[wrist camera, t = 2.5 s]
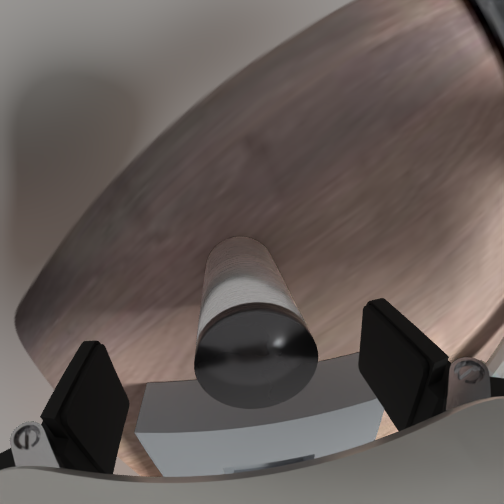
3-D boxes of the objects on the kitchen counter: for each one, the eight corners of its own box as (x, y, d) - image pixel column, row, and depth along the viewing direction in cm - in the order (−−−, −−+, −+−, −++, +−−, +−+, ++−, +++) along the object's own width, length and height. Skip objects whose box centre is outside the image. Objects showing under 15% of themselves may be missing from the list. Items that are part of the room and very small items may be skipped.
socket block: (359, 352, 20) (387, 394, 16) (341, 459, 25) (355, 493, 21) (147, 382, 19) (134, 432, 15) (196, 481, 24) (196, 517, 20)
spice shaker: (270, 232, 17) (318, 304, 8) (276, 295, 18) (317, 398, 10) (200, 241, 17) (181, 323, 8) (211, 304, 18) (207, 414, 9)
